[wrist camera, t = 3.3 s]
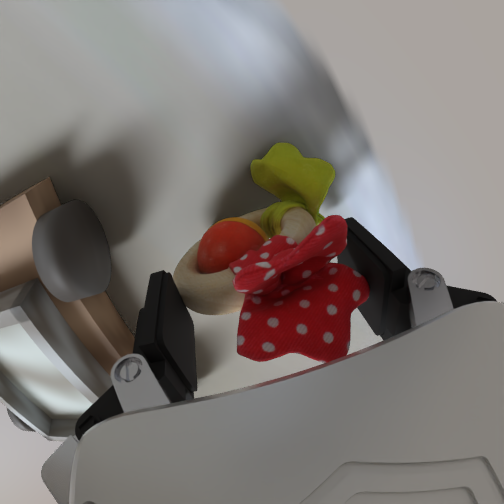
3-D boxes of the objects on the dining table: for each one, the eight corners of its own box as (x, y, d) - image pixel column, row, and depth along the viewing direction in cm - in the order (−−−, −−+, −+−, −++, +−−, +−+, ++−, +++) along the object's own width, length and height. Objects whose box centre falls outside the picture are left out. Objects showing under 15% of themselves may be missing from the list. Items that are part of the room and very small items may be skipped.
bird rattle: (240, 253, 20) (365, 213, 16) (194, 402, 12) (390, 390, 8) (189, 182, 17) (325, 119, 13) (93, 329, 9) (344, 275, 5)
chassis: (-71, 259, 12) (-102, 294, 8) (75, 163, 13) (28, 196, 9) (48, 410, 24) (41, 448, 19) (199, 394, 25) (204, 445, 20)
